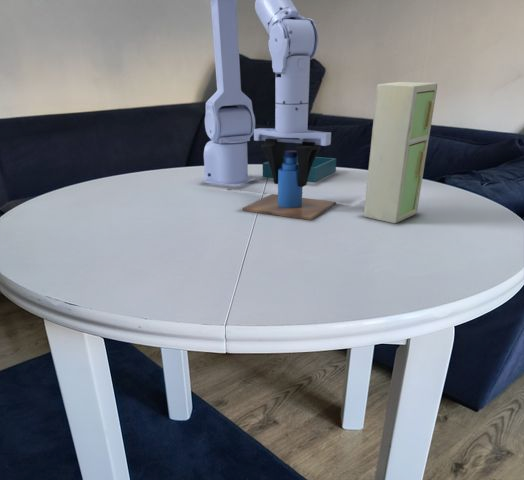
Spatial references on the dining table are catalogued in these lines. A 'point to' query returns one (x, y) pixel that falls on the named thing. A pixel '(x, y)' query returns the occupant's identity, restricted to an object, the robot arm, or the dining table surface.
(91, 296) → the dining table surface
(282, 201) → the water bottle
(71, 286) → the dining table surface
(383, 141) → the toy refrigerator
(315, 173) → the teal square tray
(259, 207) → the brown wooden board
